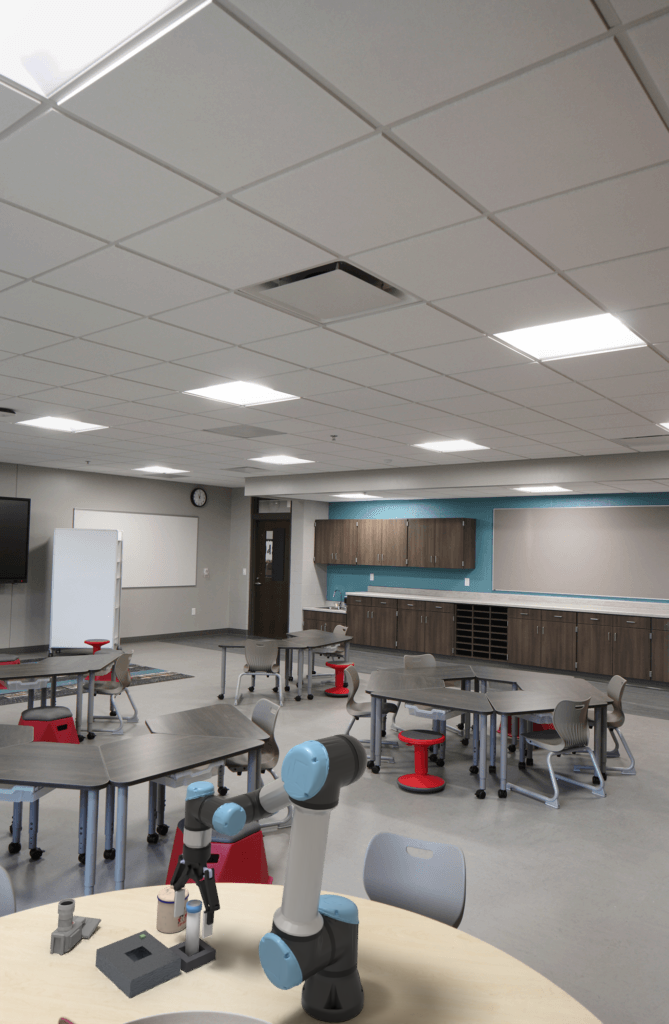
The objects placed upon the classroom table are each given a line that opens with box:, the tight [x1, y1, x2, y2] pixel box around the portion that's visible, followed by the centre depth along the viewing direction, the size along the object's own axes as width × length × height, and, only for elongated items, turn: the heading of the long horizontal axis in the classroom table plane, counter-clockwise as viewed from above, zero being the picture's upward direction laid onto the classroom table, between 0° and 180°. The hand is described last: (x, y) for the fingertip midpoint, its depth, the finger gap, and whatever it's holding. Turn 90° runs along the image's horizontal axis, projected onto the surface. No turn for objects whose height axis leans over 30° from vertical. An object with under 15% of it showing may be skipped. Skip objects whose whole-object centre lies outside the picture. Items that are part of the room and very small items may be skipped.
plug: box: [185, 899, 203, 957], centre depth 174 cm, size 4×4×14 cm
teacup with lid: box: [155, 885, 190, 934], centre depth 191 cm, size 12×9×12 cm
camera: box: [49, 898, 102, 956], centre depth 181 cm, size 9×12×15 cm
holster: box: [168, 937, 217, 974], centre depth 173 cm, size 9×9×2 cm
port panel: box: [94, 929, 182, 999], centre depth 167 cm, size 18×14×4 cm
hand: (192, 925), depth 174 cm, fingers open, 13 cm apart
